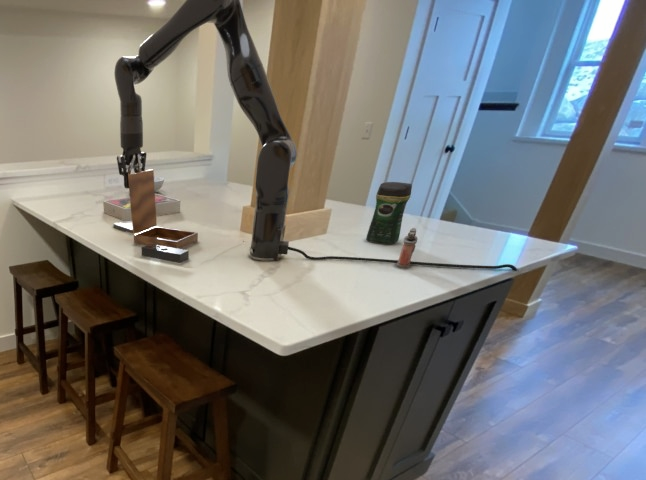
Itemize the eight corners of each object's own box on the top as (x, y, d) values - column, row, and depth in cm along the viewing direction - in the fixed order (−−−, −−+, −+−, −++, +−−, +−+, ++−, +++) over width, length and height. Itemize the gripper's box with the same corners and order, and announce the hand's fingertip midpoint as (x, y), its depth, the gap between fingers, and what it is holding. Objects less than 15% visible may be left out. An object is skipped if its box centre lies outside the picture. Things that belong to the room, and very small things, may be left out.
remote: (188, 260, 142) (188, 249, 140) (179, 264, 139) (180, 253, 137) (150, 253, 150) (150, 242, 148) (141, 257, 147) (141, 246, 145)
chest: (197, 242, 158) (198, 232, 156) (176, 252, 149) (176, 241, 147) (156, 236, 168) (155, 226, 166) (134, 245, 159) (133, 234, 157)
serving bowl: (123, 196, 239) (122, 182, 235) (129, 189, 256) (129, 176, 253) (161, 195, 236) (161, 181, 232) (165, 188, 253) (165, 175, 249)
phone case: (112, 227, 183) (131, 234, 171) (112, 223, 182) (131, 230, 170) (130, 224, 187) (151, 231, 175) (130, 220, 186) (150, 226, 174)
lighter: (408, 269, 127) (419, 233, 122) (395, 267, 129) (405, 232, 123) (410, 261, 133) (421, 227, 127) (398, 260, 134) (408, 225, 129)
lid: (153, 169, 156) (141, 169, 159) (129, 174, 147) (117, 175, 150) (156, 225, 166) (145, 224, 169) (134, 233, 157) (122, 232, 160)
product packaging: (180, 212, 201) (180, 200, 198) (125, 221, 191) (124, 208, 188) (155, 204, 217) (155, 193, 215) (103, 212, 207) (103, 201, 204)
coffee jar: (400, 241, 150) (417, 181, 140) (391, 246, 146) (408, 185, 136) (371, 236, 156) (385, 179, 146) (361, 241, 152) (376, 182, 142)
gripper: (126, 133, 140) (128, 191, 150) (153, 130, 150) (153, 184, 159) (108, 132, 144) (111, 189, 154) (135, 129, 154) (136, 182, 163)
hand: (132, 186), depth 156 cm, fingers closed on lid, 5 cm apart
